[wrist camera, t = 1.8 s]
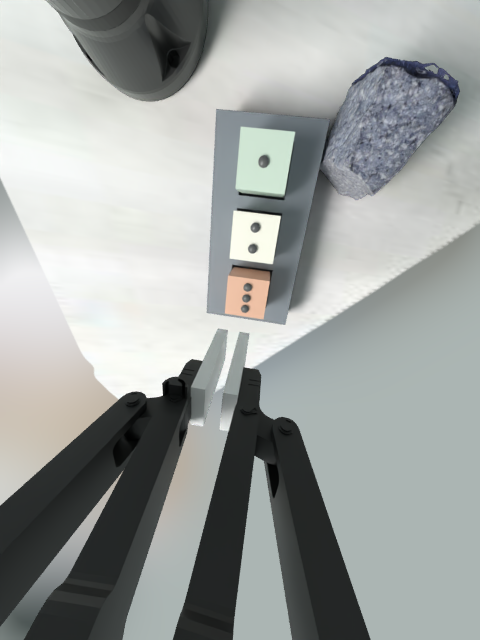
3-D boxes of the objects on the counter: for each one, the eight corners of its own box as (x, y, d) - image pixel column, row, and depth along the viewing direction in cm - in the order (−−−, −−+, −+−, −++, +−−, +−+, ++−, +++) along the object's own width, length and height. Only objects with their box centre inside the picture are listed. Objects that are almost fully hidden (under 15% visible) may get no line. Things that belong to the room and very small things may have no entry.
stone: (361, 85, 27) (439, 126, 25) (310, 175, 32) (370, 213, 31) (353, 18, 17) (478, 77, 16) (283, 161, 23) (368, 215, 21)
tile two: (239, 211, 28) (233, 210, 24) (279, 215, 28) (280, 216, 23) (235, 251, 31) (229, 258, 26) (272, 256, 30) (272, 264, 26)
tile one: (246, 141, 25) (240, 125, 21) (291, 146, 25) (295, 131, 20) (241, 192, 28) (235, 188, 23) (282, 197, 27) (284, 194, 23)
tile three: (234, 266, 31) (227, 275, 27) (270, 271, 31) (269, 281, 26) (231, 300, 34) (224, 314, 29) (264, 305, 33) (263, 320, 29)
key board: (224, 124, 28) (216, 109, 24) (321, 133, 27) (330, 119, 23) (213, 302, 39) (206, 312, 35) (283, 312, 38) (285, 324, 34)
